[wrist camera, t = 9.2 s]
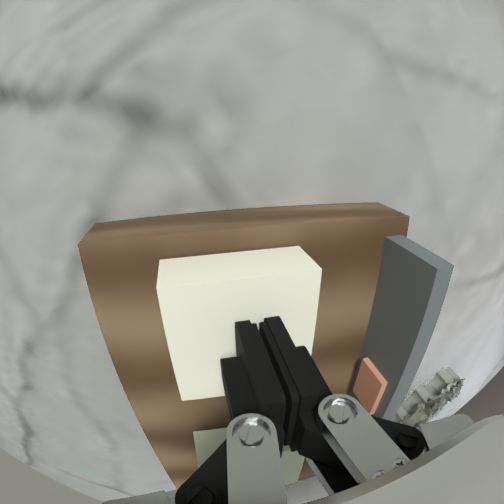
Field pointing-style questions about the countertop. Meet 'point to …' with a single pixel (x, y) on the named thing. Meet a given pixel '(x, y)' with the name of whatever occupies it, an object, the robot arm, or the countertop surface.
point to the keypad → (328, 314)
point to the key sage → (214, 438)
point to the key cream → (231, 307)
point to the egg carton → (429, 398)
